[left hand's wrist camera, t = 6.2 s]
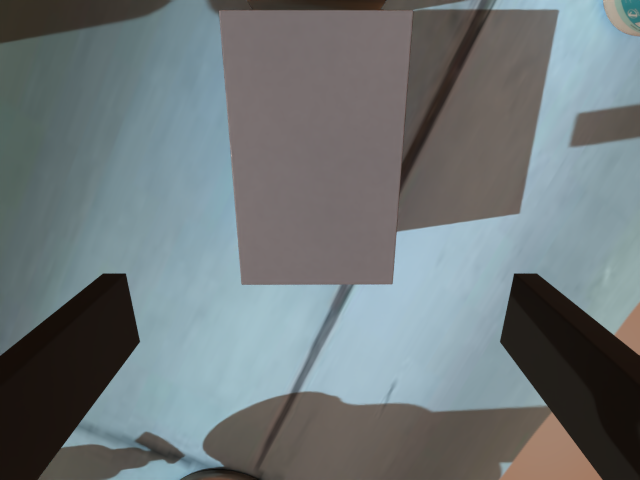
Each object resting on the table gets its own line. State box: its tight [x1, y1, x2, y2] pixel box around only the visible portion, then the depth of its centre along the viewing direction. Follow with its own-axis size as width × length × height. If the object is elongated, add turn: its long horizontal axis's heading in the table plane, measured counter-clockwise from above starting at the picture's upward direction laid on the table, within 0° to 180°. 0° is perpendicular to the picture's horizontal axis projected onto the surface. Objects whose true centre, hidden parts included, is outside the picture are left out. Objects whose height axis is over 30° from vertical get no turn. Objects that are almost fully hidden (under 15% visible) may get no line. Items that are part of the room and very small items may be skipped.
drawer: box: [247, 0, 386, 10], centre depth 25 cm, size 21×9×8 cm, turn 0°
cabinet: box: [219, 10, 413, 285], centre depth 27 cm, size 16×10×10 cm, turn 0°
